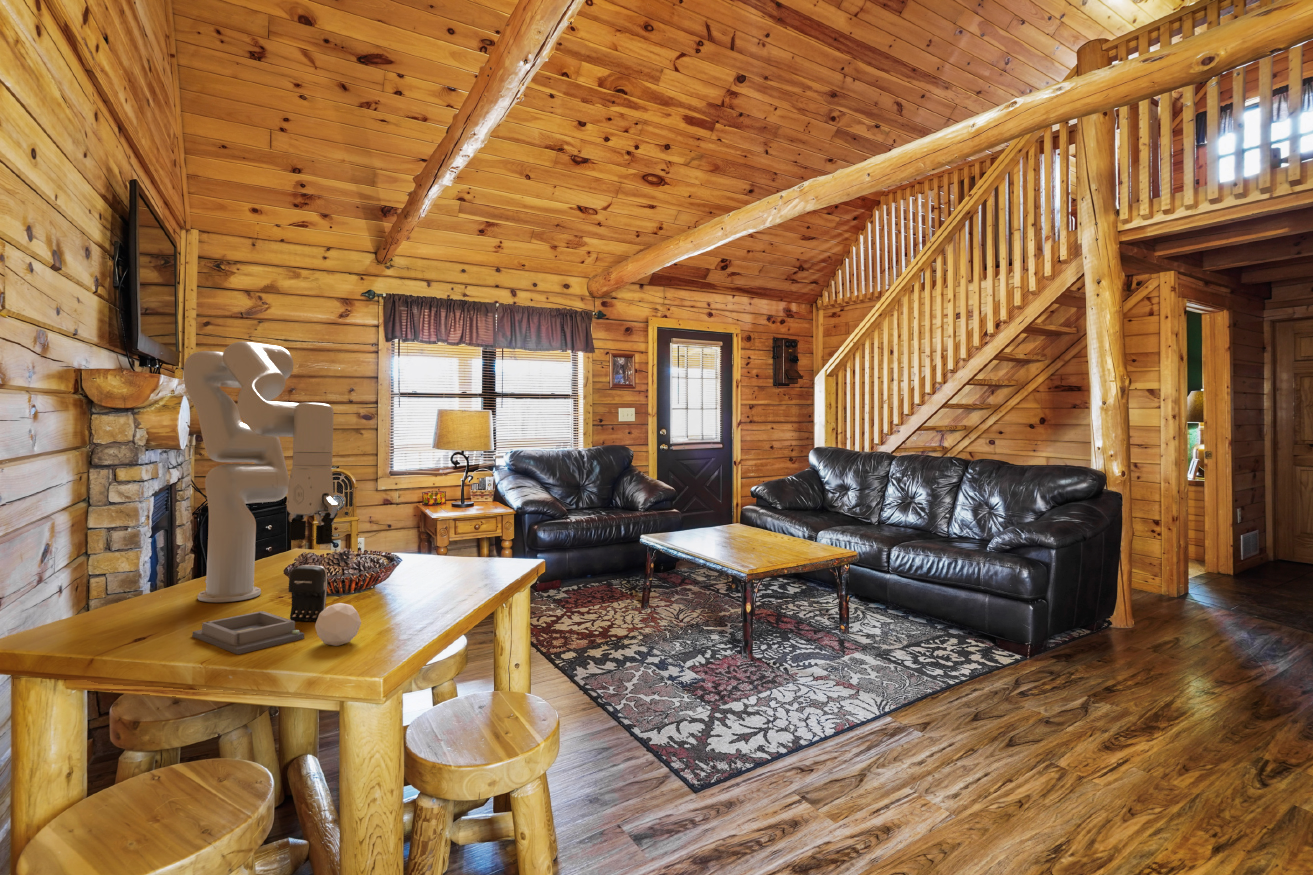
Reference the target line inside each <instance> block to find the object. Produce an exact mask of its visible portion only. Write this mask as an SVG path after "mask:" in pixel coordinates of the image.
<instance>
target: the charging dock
mask: <svg viewBox="0 0 1313 875" xmlns="http://www.w3.org/2000/svg"><path fill="white" fill-rule="evenodd" d="M191 636H192V638H194V639H198V640H199V641H203V642H205V643H208V644H210V645H213V646H215V647H217V648H219V649H223V650H225V651H228V652H230V653H232V654H235V655H241V654H247V653H250V652H251V653H252V652H254V651H257V650H263V649H267V648H271V647H275V646H278V645H283V644H287V643H291V642H295V641H299V640H305V633H304V632H301V631H300V629H296V621H293V620H290V618H285V617H283V616H280V615H276V614H273V613H269V612H267V611H263V610H260V611H256V612H250V613H245V614H241V615H235V616H230V617H225V618H219V619H214V620H210V621H209V620H208V621H204V622H202V623H201V629H198V630H195V631H194V630H193V631H192V635H191Z"/></svg>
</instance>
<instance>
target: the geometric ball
mask: <svg viewBox="0 0 1313 875" xmlns="http://www.w3.org/2000/svg"><path fill="white" fill-rule="evenodd" d="M358 612H359V611H358V610H356V608H355V607H354V606H353V605H352V604H347V603H342V602H339V603H338V602H337V603H333V604H331V605H329V606H327V607H325V609H324V610H323V611H322V612H321V613H320V614H319V616H318V619H317V621H315V624H314V627H315V631H316V634H317V637H318V638H319V639H320V640H321V641H322V643H323V644H325V645H330V646H335V647H339V646H341V645H344V644H347V643H350V642H351V641H352V640H353V639H354V638H355V637H356V636H357V635H358V634H359V633H358V632H359V629H360V627H361V625H362V621H361V617H360V614H359V613H358Z"/></svg>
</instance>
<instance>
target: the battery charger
mask: <svg viewBox="0 0 1313 875" xmlns="http://www.w3.org/2000/svg"><path fill="white" fill-rule="evenodd" d="M287 592H288V593H291V607H290V608H291V609H290V612H289V613H290V614H289V620H292V621H295V622H296V621H297V622H316V621H317V619H318V616H319V614H320V613H321V612H322V611H323V610H324V609H325V608H326V606H327V605H326V603H327V593H328V570H327V569H326V567H323V565H308V564H307V565H299V566H297V567H294V568H293V569H292V570H290V573H289V577H288V591H287Z"/></svg>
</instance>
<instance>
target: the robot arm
mask: <svg viewBox="0 0 1313 875" xmlns="http://www.w3.org/2000/svg"><path fill="white" fill-rule="evenodd" d="M294 364H295V363H294V360H293V357H292V354H291V353H290V351H288V349H286V348H284V347H283V346H279V345H274V344H267V343H260V342H252V341H236V342H233V343H230V344H229V345H227V347H225V349H224V350H223V351H218V350H217V351H215V350H202V351H197V352H193V353H191V354H189V356H188V357H187V358H186V359H185V362H184V364H183V374H182V375H183V381H184V382H183V384H184V387H185V390H186V392H187V395H188V397H189V399H190V400H191V403H192V405H193V407H194V408H195V410H196V413H197V417H198V421H199V427H200V430H201V432H200V433H201V435H202V436H201V437H202V441H203V445H204V449H205V452H206V454H207V457H208V458H209V459H210V460H212V461H214V462H217V463H218V462H219V463H227V464H219V465H217V466H215V467H213V468H211V469H210V470H209V471H208V473H207V474H206V475H205V479H204V480H205V481H204V486H205V487H204V488H205V493H206V494H205V495H206V499H207V506H208V507H207V508H208V528H207V529H208V532H207V533H208V536H207V538H208V539H207V554H206V555H207V557H206V558H207V559H206V578H205V579H204V582H205V585H206V586H205V590H203V591H200V592H199V593H198V594H197V600H198V601H199V602H200V601H201V602H205V603H231V602H238V601H239V602H240V601H245V600H250V599H254V598H256V597H258V596H260V595H261V593H262V590H261V588H260V587H257V586H254V585H255V562H256V538H257V537H256V535H257V522H256V519H255V516H254V514H253V513H252V512H251V510H250V509H249V508H248V506H247V505H246V504H255V503H268V502H269V503H271V502H272V503H273V502H277V501H280V500H282V499H284V498H285V497H286V496H287V497H286V500H285V501H286V511H287V514H288V521H289V537H288V538H289V540H290V541H298V540H300V541H301V540H305V539H306V538H307V537H306V531H307V530H306V529H307V521H306V520H305V518H306V516H308V517H310V516H311V517H312V516H313V515H314V517H315V519H316V522H317V525H315V544H316V545H319V546H320V545H327V544H328V545H329V544H331V543H333V525H334V523H335V518H336V517H337V511H338V508H339V504H338V502H336V501H335V500H334V494H335V493H334V478H333V476H334V475H333V470H332V468H333V454H334V453H333V452H334V451H333V450H334V448H333V447H334V414H335V412H334V408H333V407H332V405H330V404H328V403H322V402H299V403H298V402H289V401H277V400H276V401H275V400H274V399H277V397H279V396H280V395H281V394H282V393H283V392H284V390H285V387H286V380H288V378H290V376H291V375H292V373H293V371H294V366H295V365H294ZM221 387H226V388H233V389H234V388H235V389H236V388H237V389H240V390H239V393H238V396H237V403H236V402H235V401H234V400H233V399H232V397H231V396H230V395H229V394H228V393H226V392H225V391H224V390H222V389H221ZM280 437H283V438H284V437H289V438H292V462H291V463H292V464H291V470H290V475H289V471H288V469H287V468H288V467H287V464H286V459H285V455H284V451H283V447H282V443H281V440H280Z"/></svg>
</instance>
